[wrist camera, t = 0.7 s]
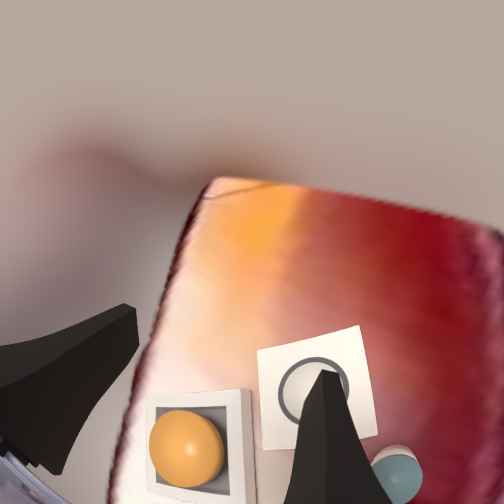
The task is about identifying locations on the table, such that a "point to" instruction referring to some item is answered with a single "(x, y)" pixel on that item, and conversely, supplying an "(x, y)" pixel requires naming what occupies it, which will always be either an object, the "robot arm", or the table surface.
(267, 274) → the table surface
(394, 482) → the white cylindrical piece
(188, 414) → the button
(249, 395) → the button box
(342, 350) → the paper sheet
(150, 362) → the table surface
